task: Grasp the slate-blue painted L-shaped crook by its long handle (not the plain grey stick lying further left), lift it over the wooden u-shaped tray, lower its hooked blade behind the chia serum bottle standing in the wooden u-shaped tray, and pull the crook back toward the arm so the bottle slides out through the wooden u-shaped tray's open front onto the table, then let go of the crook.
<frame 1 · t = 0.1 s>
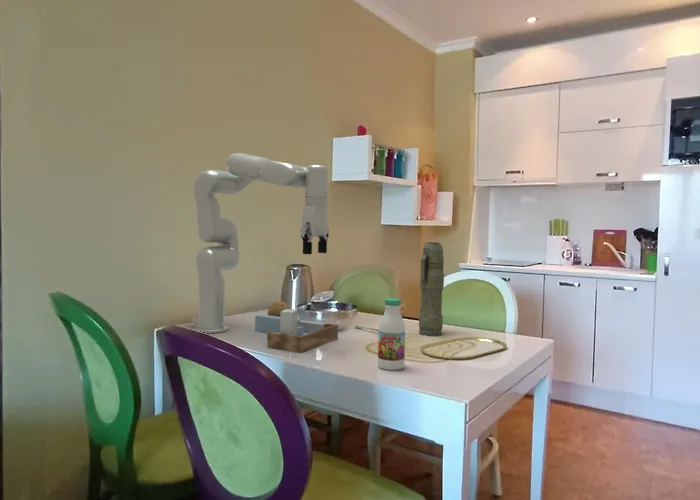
hand: (314, 253, 175), 31 cm above the table, tool pointing down, fingers open, 9 cm apart
skincare box: (288, 346, 175), on the table
soupspoon: (376, 334, 199), on the table
grey plastic stick: (312, 333, 197), on the table
wooden u-shaped tray: (302, 342, 180), on the table
crook: (275, 333, 195), on the table
thermos: (430, 334, 200), on the table
natural sponge: (278, 326, 209), on the table
serving platter: (464, 351, 176), on the table
milk bottle: (390, 367, 152), on the table
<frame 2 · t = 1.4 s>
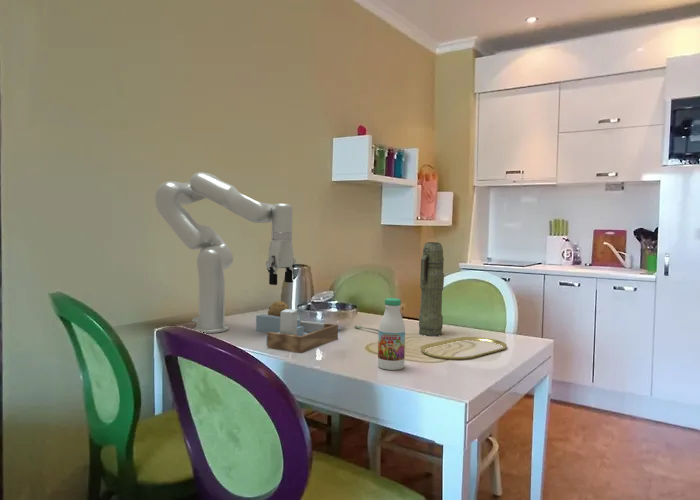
hand: (281, 283, 193), 19 cm above the table, tool pointing down, fingers open, 9 cm apart
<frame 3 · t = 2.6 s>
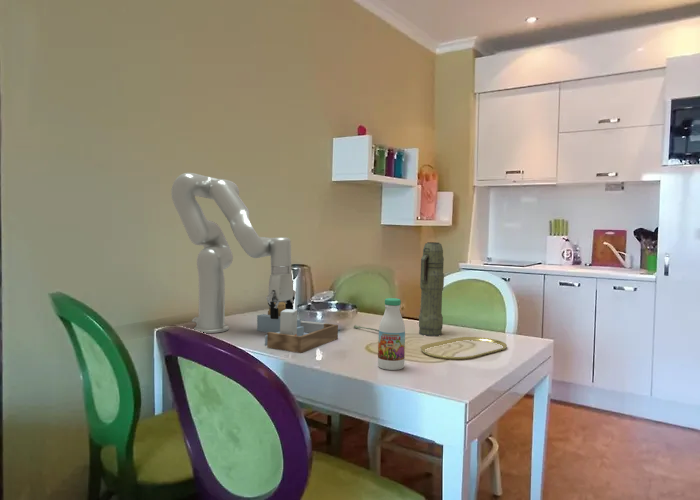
hand: (282, 316, 194), 6 cm above the table, tool pointing down, fingers open, 9 cm apart
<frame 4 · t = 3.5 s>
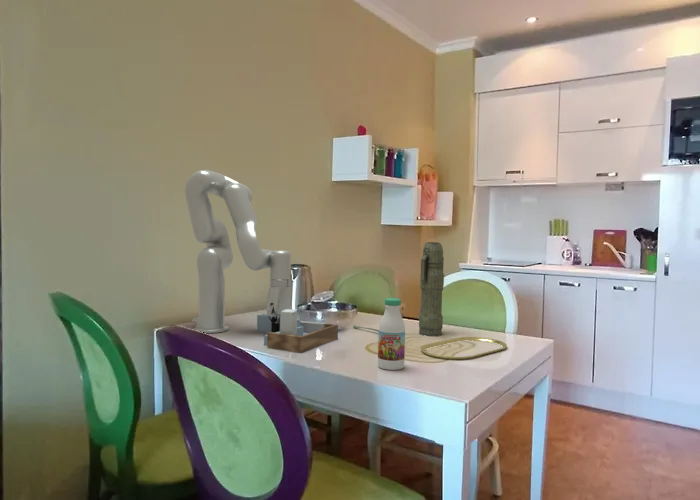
hand: (279, 331, 194), 1 cm above the table, tool pointing down, fingers open, 4 cm apart
crook: (276, 332, 195), on the table, touching gripper
everything else where it was.
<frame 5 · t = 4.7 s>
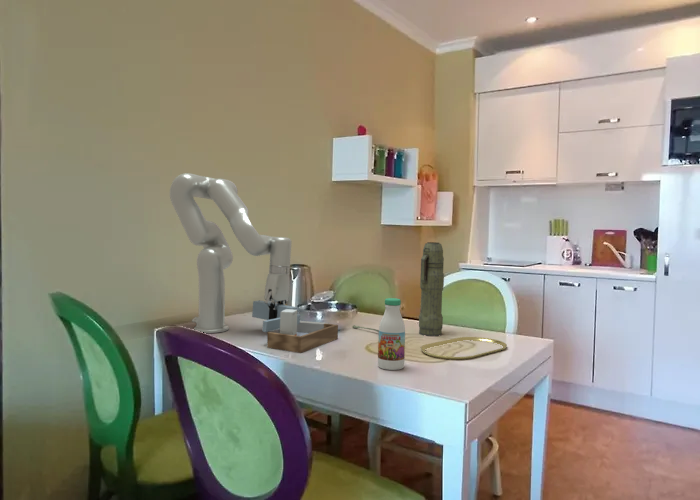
hand: (276, 318, 194), 5 cm above the table, tool pointing down, fingers closed on crook, 3 cm apart
crook: (271, 319, 195), point 5 cm above the table, touching gripper
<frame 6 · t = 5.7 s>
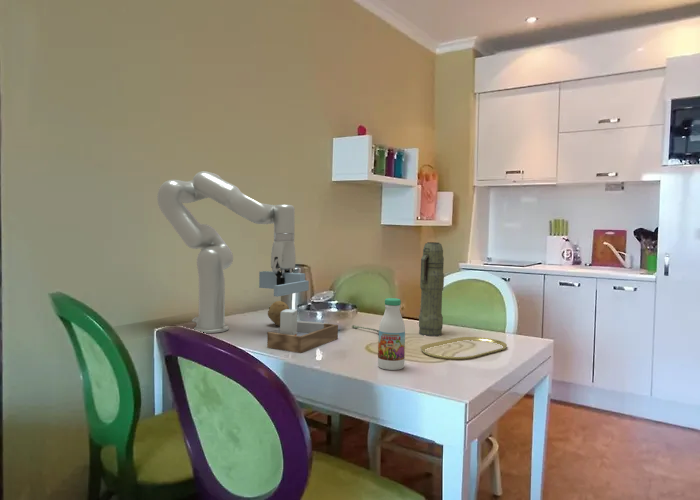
hand: (283, 287, 192), 17 cm above the table, tool pointing down, fingers closed on crook, 3 cm apart
crook: (279, 288, 193), point 17 cm above the table, touching gripper
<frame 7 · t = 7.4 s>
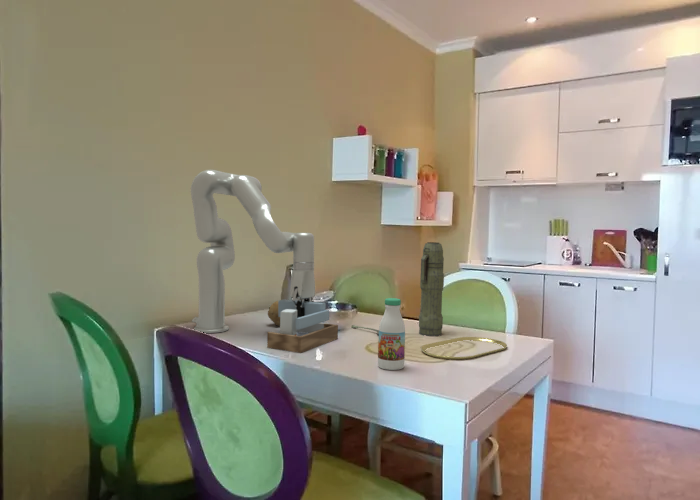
hand: (303, 316, 189), 7 cm above the table, tool pointing down, fingers closed on crook, 3 cm apart
crook: (299, 317, 190), point 7 cm above the table, touching gripper
when the fingers open (1 cm above the table, at t = 12.2 s): crook stays where it is, on the table.
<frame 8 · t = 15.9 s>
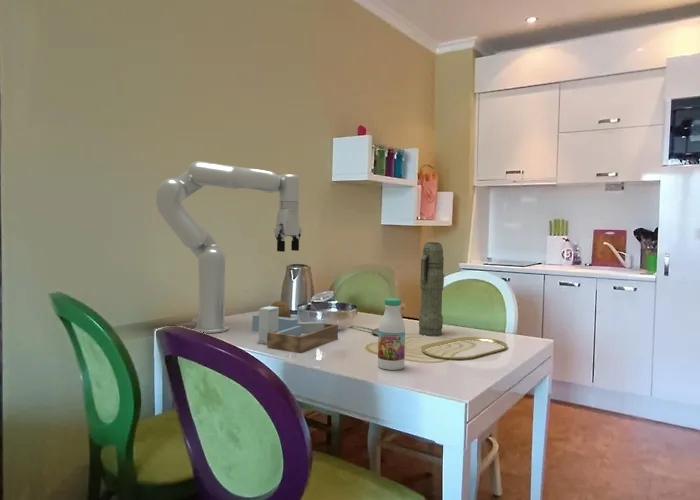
hand: (288, 250, 202), 30 cm above the table, tool pointing down, fingers open, 9 cm apart
skincare box: (268, 342, 180), on the table
soupspoon: (367, 333, 201), on the table
crook: (272, 332, 196), on the table
at the end: skincare box inside the target area (4.3 cm from its centre), on the table; skincare box tilted 0°; the gripper is holding nothing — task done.
